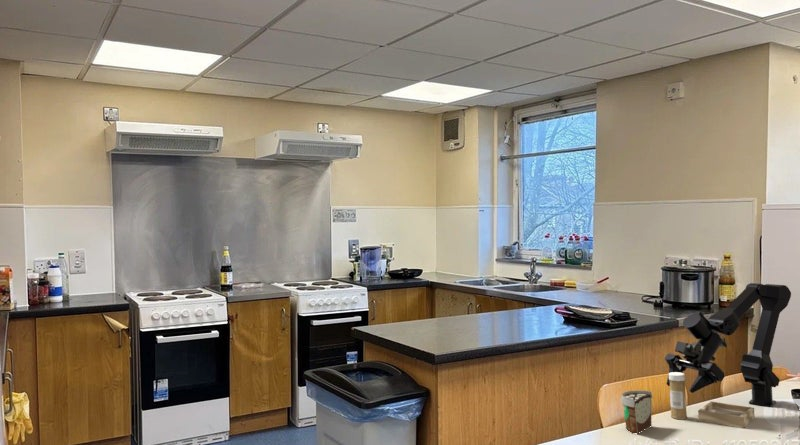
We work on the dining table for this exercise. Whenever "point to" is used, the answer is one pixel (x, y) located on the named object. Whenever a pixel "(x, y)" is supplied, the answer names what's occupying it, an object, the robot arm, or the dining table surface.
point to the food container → (637, 410)
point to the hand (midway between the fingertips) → (679, 388)
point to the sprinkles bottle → (677, 395)
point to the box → (726, 414)
